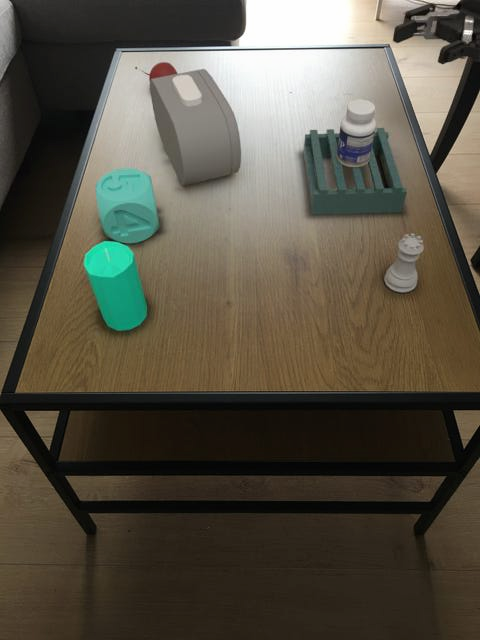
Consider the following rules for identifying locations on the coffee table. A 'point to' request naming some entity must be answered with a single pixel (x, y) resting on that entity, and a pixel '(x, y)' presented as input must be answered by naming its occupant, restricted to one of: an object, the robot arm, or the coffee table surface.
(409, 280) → the rook chess piece
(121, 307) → the candle
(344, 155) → the pill bottle
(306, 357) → the coffee table surface
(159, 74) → the fruit
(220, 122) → the alarm clock
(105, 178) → the decorative dice
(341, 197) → the rack
